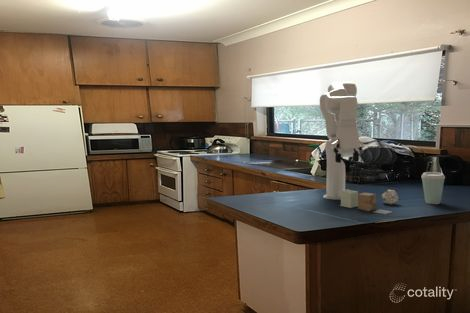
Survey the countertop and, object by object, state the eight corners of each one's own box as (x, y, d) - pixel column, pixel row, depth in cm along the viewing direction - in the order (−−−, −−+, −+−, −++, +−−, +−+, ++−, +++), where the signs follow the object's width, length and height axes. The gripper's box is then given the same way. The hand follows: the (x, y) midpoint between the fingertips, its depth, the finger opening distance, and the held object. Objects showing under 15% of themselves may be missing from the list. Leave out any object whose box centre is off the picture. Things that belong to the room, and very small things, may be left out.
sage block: (347, 203, 193) (348, 189, 192) (357, 205, 189) (357, 191, 188) (340, 205, 189) (341, 191, 189) (350, 207, 185) (350, 192, 184)
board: (351, 203, 196) (351, 201, 196) (397, 212, 178) (397, 210, 177) (333, 208, 187) (333, 205, 187) (380, 217, 169) (380, 215, 169)
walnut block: (364, 207, 186) (365, 192, 185) (375, 209, 181) (375, 194, 181) (358, 209, 182) (358, 194, 181) (368, 211, 178) (369, 195, 177)
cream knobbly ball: (386, 211, 195) (382, 193, 201) (404, 207, 191) (399, 188, 196) (380, 205, 189) (376, 186, 195) (398, 200, 185) (393, 182, 190)
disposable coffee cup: (445, 205, 190) (447, 174, 189) (421, 204, 194) (422, 174, 192) (442, 201, 200) (443, 172, 199) (418, 200, 204) (420, 171, 202)
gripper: (357, 123, 184) (356, 160, 186) (326, 124, 178) (326, 162, 179) (368, 124, 178) (367, 161, 179) (337, 124, 171) (336, 163, 173)
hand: (347, 162), depth 179 cm, fingers open, 9 cm apart
